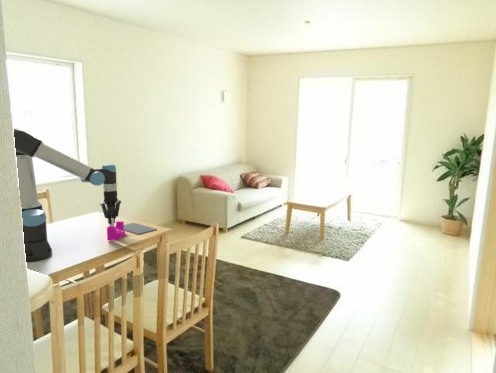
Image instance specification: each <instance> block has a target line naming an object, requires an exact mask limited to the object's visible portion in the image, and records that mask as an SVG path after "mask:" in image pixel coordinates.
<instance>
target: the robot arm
mask: <svg viewBox="0 0 496 373" xmlns="http://www.w3.org/2000/svg"><path fill="white" fill-rule="evenodd" d="M13 129H14V137H15V148H16V157H17V168H18V178H19V190H20V199H21V207H22V218H23V232H24V244H25V253H26V261H25V262H34V261H41V260H45V259H47V258H49V257H51V256H52V255H53V250H52V247H51V244H50V243H49V241H48V231H47V230H48V229H47V215H46V212H45V211H44V210H43V204H42V203H41V202H40V201H39V198H38V191H37V184H36V176H35V169H34V162H33V158H37V159H39V160H41V161H44V162H46V163H48V164H50V165H52V166H53V167H56V168H58V169H60V170H63V171H65V172H66V173H69V174H71V175H73V176H75V177H77V178H79V179H80V181H81V182H82V183H90V184H92V185H93V186H97V187H98V186H101V185H102V188H103V201H102V202H101V203H99V206H100V207H101V208H102V212H103V215H104V218H105V219H107V222H108V225H109V226H115V224H116V219H117V217H119V213H120V212H119V211H120V206H121V204H122V200H119V199H118V191H117V190H118V187H117V185H118V184H117V167H116V165H115V164H111V163H108V164H107V163H106V164H102V167H100V168H92V167H91V166H89V165H86V164H85V163H83V162H81V161H79V160H77V159H75V158H73V157H71V156H69V155H68V154H65V153H63V152H61V151H59V150H57V149H55V148H53V147H51V146H49V145H47V144H45V143H44V141H43V140H42V139H39V138H38V137H36V136H35V135H33V134H32V133H31V132H30V131H29V130H27V129H25V128H20V127H19V128H13Z"/></svg>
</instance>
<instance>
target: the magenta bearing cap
mask: <svg viewBox="0 0 496 373" xmlns="http://www.w3.org/2000/svg"><path fill="white" fill-rule="evenodd" d="M124 222H125V221H124V220H117V221H115V225H114V226H110V225H109V226H107V227H106V235H107V238H106V239H107V241H119V240H120V239H122V238H123V237H125V236H126V231H125V230H124V225H125V223H124Z"/></svg>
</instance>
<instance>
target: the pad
mask: <svg viewBox="0 0 496 373" xmlns="http://www.w3.org/2000/svg"><path fill="white" fill-rule="evenodd" d="M124 230H125V232H128V233H132V234H135V235H143V234H146V233H151V232H153V231H157V230H158V229H157V228H154V227H151V226H147V225H143V224H139V223H135V222H131V223H126V224H124Z"/></svg>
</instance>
